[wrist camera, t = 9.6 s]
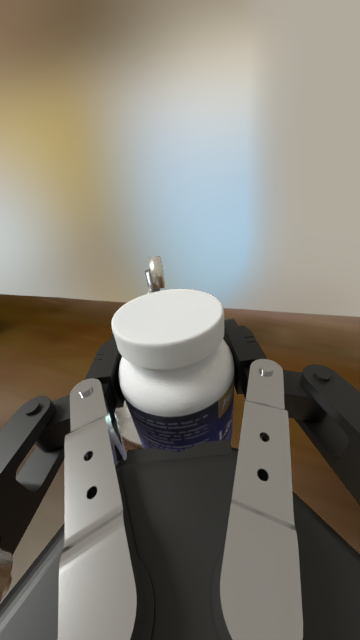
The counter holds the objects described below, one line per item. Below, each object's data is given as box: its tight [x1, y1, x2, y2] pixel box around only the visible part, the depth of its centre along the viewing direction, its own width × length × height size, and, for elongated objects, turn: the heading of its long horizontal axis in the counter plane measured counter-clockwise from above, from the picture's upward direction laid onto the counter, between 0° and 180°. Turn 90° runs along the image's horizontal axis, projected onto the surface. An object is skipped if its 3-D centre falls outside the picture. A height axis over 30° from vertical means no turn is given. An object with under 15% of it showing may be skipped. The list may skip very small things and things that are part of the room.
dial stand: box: [145, 256, 165, 294], centre depth 34 cm, size 6×10×17 cm, turn 3°
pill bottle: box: [112, 289, 235, 452], centre depth 11 cm, size 6×6×10 cm
